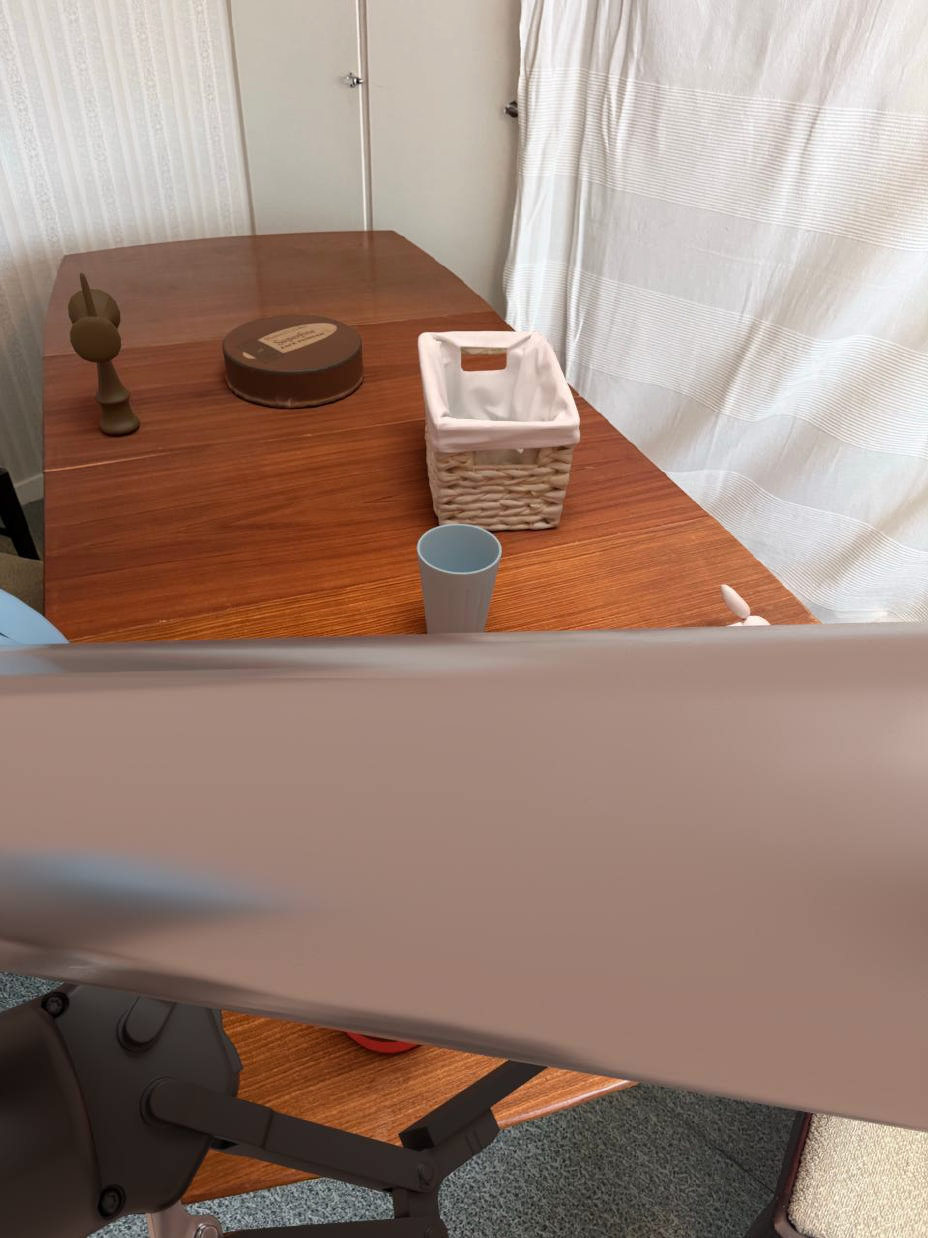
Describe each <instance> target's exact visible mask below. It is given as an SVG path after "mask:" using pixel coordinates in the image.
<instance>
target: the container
mask: <svg viewBox="0 0 928 1238" xmlns="http://www.w3.org/2000/svg"><path fill="white" fill-rule="evenodd" d="M221 347H222V354H223V358H224V366H225V372H226V373H225V374H226V378H225V379H226V383H227V385H228V388H229V389H230V390H231V391H232V392H233V393H234V394H235V395H237V396H238V397H240V398H241V399H242V400H243V399H244V400H245V401H247V402H251V403H253V404H257V405H261V406H267V407H271V408H272V407H274V408H279V409H301V408H302V409H303V408H308V407H309V408H310V407H318V406H321V405H326V404H329V403H334V402H336V401H338V400H341V399H344V398H345V397H347V396H349V395H351V394H352V393H353V392H355V391H356V390H357V389H358V388H359V386H360V385H361V384H362V383H363V380H364V378H365V373H364V371H365V369H364V365H363V364H364V363H363V342H362V338H361V335H360V334H359V333H358V332H357V330H355V329H354V328H353V327H351V326H350V325H348V324H346V323H344V322H341V321H339V320H336V319H334V318H330V317H326V316H319V315H316V314H315V315H313V314H300V313H299V314H297V313H295V314H294V313H293V314H291V313H290V314H289V313H288V314H277V315H270V316H265V317H261V318H257V319H253V320H250V321H247V322H244V323H242V324H240V325H238V326H236V327H234V328H233V329H231V330H230V331H229V332H228V333H227V334H226V335H225V337H224V338H223V340H222V344H221Z"/></svg>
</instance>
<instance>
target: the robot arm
mask: <svg viewBox="0 0 928 1238" xmlns="http://www.w3.org/2000/svg"><path fill="white" fill-rule="evenodd" d="M1 972H2V973H6V974H7V973H8V974H12V975H18V976H25V977H30V978H35V979H42V980H47V981H53V982H57V983H58V982H59V983H61V984H60V985H59V986H57V987H56V988H54V989H53V990H50V991H48V992H46V993H44V994H41V995H39V996H36V997H33V998H31V999H29V1000H27V1001H24V1002H22V1003H19V1004H17V1005H15V1006H12V1007H10V1008H6V1009H5V1010H3V1011H2V1010H1V1011H0V1238H88V1237H90V1236H92V1235H94V1234H95V1233H97V1232H99V1231H100V1230H102V1229H103V1228H105V1227H107V1226H109V1225H111V1224H112V1223H114V1222H115V1221H119V1219H121V1218H124V1217H128V1216H132V1215H133V1216H134V1215H145V1220H146V1225H147V1232H148V1238H449V1232H448V1227H447V1225H446V1224H445V1222H444V1220H443V1219H442V1218H441V1215H440V1214H441V1213H440V1205H439V1192H440V1188H441V1185H442V1184H443V1183H444V1180H445V1179H446V1178H447V1177H448V1176H450V1175H451V1174H452V1173H453V1172H455V1171H457V1170H458V1169H459V1168H460V1167H462V1166H463V1165H464V1164H465V1163H467V1162H468V1161H470V1160H471V1159H473V1158H474V1157H475V1156H476V1155H478V1154H479V1153H480V1152H482V1151H483V1150H485V1149H486V1148H487V1147H489V1146H490V1145H491V1144H493V1143H494V1142H495V1140H496V1138H497V1137H498V1135H499V1133H500V1131H501V1129H500V1128H501V1127H500V1126H499V1124H498V1122H497V1120H496V1117H495V1115H494V1113H493V1111H492V1109H491V1108H492V1107H494V1106H495V1105H497V1104H499V1102H501V1101H502V1100H504V1099H505V1098H508V1096H510V1095H512V1093H514V1092H515V1091H516V1090H518V1089H519V1088H521V1087H522V1086H524V1085H525V1084H527V1083H528V1082H529V1081H531V1080H533V1079H534V1078H535V1077H536V1076H538V1075H539V1074H541V1073H542V1072H543V1071H545V1070H546V1069H548V1068H554V1069H558V1070H564V1071H571V1072H575V1073H581V1074H586V1075H592V1076H598V1077H603V1078H610V1079H617V1080H622V1081H626V1082H634V1083H638V1084H645V1085H650V1086H657V1087H661V1088H662V1087H663V1088H666V1089H667V1088H668V1089H673V1090H679V1091H684V1092H685V1091H686V1092H690V1093H695V1094H702V1095H707V1096H714V1097H719V1098H725V1099H730V1100H736V1101H742V1102H746V1103H747V1102H748V1103H753V1104H760V1105H765V1106H771V1107H777V1108H781V1109H782V1108H783V1109H787V1110H793V1111H801V1112H806V1113H811V1114H817V1115H823V1116H827V1117H828V1116H829V1117H834V1118H840V1119H846V1120H850V1121H851V1120H852V1121H857V1122H863V1123H868V1124H874V1125H880V1126H886V1127H892V1128H897V1129H901V1130H908V1131H913V1132H920V1133H926V1134H928V620H920V621H919V620H916V621H879V622H878V621H877V622H842V623H839V622H838V623H805V624H804V623H803V624H801V623H799V624H798V623H797V624H770V625H758V626H729V625H723V626H721V625H720V626H719V625H718V626H688V627H687V626H686V627H685V626H683V627H655V628H654V627H649V628H647V627H646V628H611V629H609V628H607V629H571V630H569V629H568V630H567V629H566V630H534V631H533V630H530V631H527V630H526V631H490V632H487V631H486V632H484V633H448V634H428V633H415V634H414V633H412V634H411V633H410V634H376V635H374V634H372V635H371V634H370V635H339V636H338V635H335V636H332V635H331V636H298V637H297V636H296V637H295V636H294V637H261V638H260V637H259V638H257V637H256V638H224V639H223V638H222V639H220V638H217V639H215V638H214V639H182V640H180V639H179V640H145V641H143V640H141V641H140V640H139V641H105V642H101V641H99V642H70V641H69V640H68V639H67V638H66V637H65V635H64V634H63V633H62V632H61V631H60V630H59V629H58V628H56V626H54V624H52V622H50V621H49V620H48V619H47V618H46V617H45V616H43V615H42V614H41V613H40V612H38V611H37V610H36V609H35V608H32V607H31V606H30V605H28V604H27V603H25V602H24V601H22V600H21V599H19V598H18V597H17V596H14V595H13V594H11V593H9V592H8V591H5V590H4V589H1V588H0V973H1ZM223 1011H225V1012H231V1013H237V1014H243V1015H249V1016H254V1017H258V1018H259V1017H260V1018H265V1019H269V1020H276V1021H282V1022H289V1023H295V1024H299V1025H306V1026H310V1027H317V1028H323V1029H328V1030H334V1031H340V1032H344V1033H346V1032H351V1033H357V1034H362V1035H368V1036H374V1037H380V1038H385V1039H391V1040H397V1041H403V1042H408V1043H414V1044H418V1045H420V1046H425V1047H433V1048H438V1049H442V1050H443V1049H444V1050H450V1051H454V1052H460V1053H466V1054H472V1055H478V1056H484V1057H490V1058H494V1059H495V1058H496V1059H500V1060H506V1061H505V1062H503V1063H501V1064H500V1065H498V1066H497V1067H495V1068H494V1069H493V1070H491V1071H489V1072H488V1073H487V1074H485V1075H483V1076H482V1077H481V1078H478V1080H476V1081H475V1082H473V1083H472V1084H470V1085H468V1086H467V1087H466V1088H464V1089H463V1090H461V1091H459V1092H458V1093H457V1094H455V1095H454V1096H452V1097H451V1098H449V1099H448V1100H446V1101H445V1102H443V1103H441V1104H440V1105H439V1106H437V1107H436V1108H434V1109H433V1110H431V1111H430V1112H428V1113H427V1114H425V1115H424V1116H422V1117H421V1118H419V1119H417V1121H415V1122H413V1123H411V1124H410V1125H409V1126H407V1127H406V1128H404V1129H403V1130H401V1131H400V1132H398V1133H397V1134H398V1138H399V1140H400V1143H401V1145H402V1146H400V1145H396V1144H393V1143H390V1142H386V1141H384V1140H383V1141H382V1140H379V1139H375V1138H371V1137H368V1136H364V1135H361V1134H357V1133H353V1132H350V1131H346V1130H344V1129H340V1128H336V1127H332V1126H330V1125H329V1126H328V1125H325V1124H321V1123H318V1122H315V1121H311V1120H308V1119H304V1118H300V1117H297V1116H292V1115H289V1114H285V1113H282V1112H279V1111H276V1110H274V1108H272V1107H271V1106H268V1105H264V1104H260V1103H257V1102H255V1101H254V1102H253V1101H250V1100H246V1099H242V1098H240V1097H239V1098H238V1094H239V1090H240V1086H241V1072H242V1071H243V1070H244V1066H243V1062H242V1060H241V1058H240V1054H239V1052H238V1049H237V1047H236V1045H235V1044H234V1043H233V1041H232V1039H231V1038H230V1037H229V1035H228V1034H227V1033H226V1031H225V1029H224V1021H223ZM210 1150H211V1151H215V1152H218V1153H223V1154H226V1155H231V1156H236V1157H245V1158H249V1159H253V1160H257V1161H261V1162H265V1163H268V1164H273V1165H277V1166H280V1167H284V1168H288V1169H291V1170H295V1171H300V1172H304V1173H307V1174H310V1175H314V1176H319V1177H322V1178H327V1179H329V1180H334V1181H338V1182H342V1183H344V1184H345V1183H346V1184H349V1185H354V1186H356V1187H360V1188H365V1189H368V1190H372V1191H375V1192H376V1191H377V1192H380V1193H383V1194H387V1195H388V1198H392V1199H391V1200H392V1208H393V1209H392V1210H393V1217H392V1218H382V1219H380V1218H379V1219H368V1220H367V1219H366V1220H354V1221H341V1222H325V1223H313V1224H312V1223H311V1224H299V1225H297V1224H296V1225H282V1226H271V1227H270V1226H269V1227H256V1228H245V1229H237V1230H231V1231H225V1232H224V1231H223V1226H222V1224H221V1221H220V1220H219V1219H218V1218H217V1216H215V1215H213V1214H210V1213H206V1214H205V1213H204V1214H200V1215H199V1214H198V1215H196V1214H195V1215H194V1214H191V1213H189V1212H188V1211H187V1210H186V1209H185V1207H184V1205H183V1203H182V1198H183V1197H184V1196H185V1195H186V1193H187V1191H188V1190H189V1188H190V1186H191V1185H192V1183H193V1181H194V1179H195V1177H196V1175H197V1173H198V1172H199V1170H200V1168H201V1166H202V1164H203V1163H204V1160H205V1159H206V1157H207V1155H208V1153H209V1151H210Z"/></svg>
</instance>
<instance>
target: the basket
mask: <svg viewBox="0 0 928 1238" xmlns="http://www.w3.org/2000/svg"><path fill="white" fill-rule="evenodd" d="M417 351H418V361H419V363H418V364H419V369H420V371H419V372H420V378H421V386H422V398H423V402H424V414H425V416H424V422H425V426H424V441H425V446H426V454H425V455H426V458H425V459H426V466H427V477H428V479H429V480H428V481H429V488H430V492H431V497H432V502H433V503H432V505H433V511H434V514H435V515H436V516H437V517H438V519H437V520H438V525H439V526H442V525H447V524H467V525H473V526H476V527H480V528H482V529H484V530H486V531H488V532H490V531H491V532H493V531H494V532H495V531H508V530H510V531H520V530H528V529H529V530H534V531H535V530H545V529H548V528H555V527H558V526H559V524H560V521H561V517H562V513H563V508H564V506H563V503H564V500H565V499H566V495H567V490H566V489H567V487H568V484H569V482H570V472H571V469H572V462H573V453H574V450H575V447H576V445H578V444H580V442H581V432H580V424H581V419H580V413H579V411H578V408H577V403H576V401H575V399H574V396H573V393H572V390H571V388H570V386H569V384H568V382H567V379H566V377H565V375H564V372H563V370H562V367H561V365H560V362H559V359H558V357H557V355H556V353H555V351H554V349H553V347H552V346H551V344H550V343H549V341H548V340H547V338H546V337H545V336H544V335H542V334H541V332H539V331H511V330H510V331H506V330H505V331H502V330H499V331H497V330H480V331H478V330H477V331H476V330H475V331H471V330H470V331H463V330H462V331H461V330H459V331H456V330H455V331H453V330H452V331H442V332H441V331H440V332H438V331H437V332H435V331H434V332H433V331H432V332H431V331H430V332H429V331H426V332H423V333H421V334H420V335H418V338H417ZM469 354H470V355H473V356H474V355H488V356H490V355H501V354H502V355H504V354H505V355H506V357H505V358H506V365H505V368H503V369H494V370H472V371H469V370H468V371H467V370H464V369H463V368H462V355H469Z"/></svg>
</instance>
